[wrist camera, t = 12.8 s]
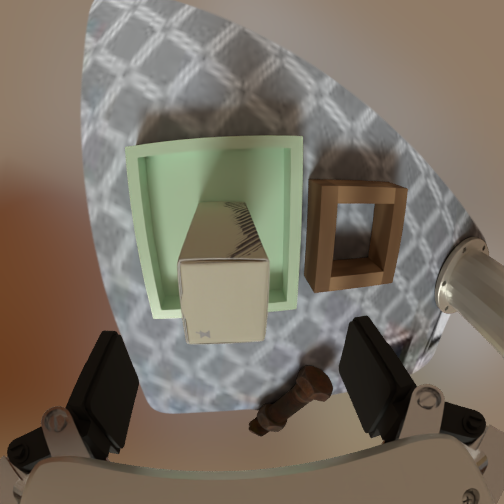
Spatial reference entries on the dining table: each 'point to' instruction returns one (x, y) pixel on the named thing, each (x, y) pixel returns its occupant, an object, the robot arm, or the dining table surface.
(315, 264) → the frame
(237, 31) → the dining table surface
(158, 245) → the tray
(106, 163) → the dining table surface
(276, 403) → the bolt
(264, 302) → the box
